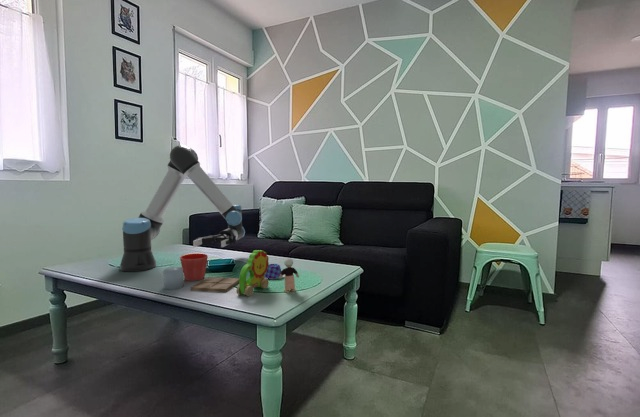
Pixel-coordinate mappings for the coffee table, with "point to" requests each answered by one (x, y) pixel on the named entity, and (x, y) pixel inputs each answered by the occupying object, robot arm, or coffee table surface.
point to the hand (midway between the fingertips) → (207, 244)
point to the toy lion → (253, 273)
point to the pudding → (273, 271)
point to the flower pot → (194, 266)
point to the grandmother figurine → (289, 275)
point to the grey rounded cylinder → (173, 278)
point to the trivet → (215, 284)
